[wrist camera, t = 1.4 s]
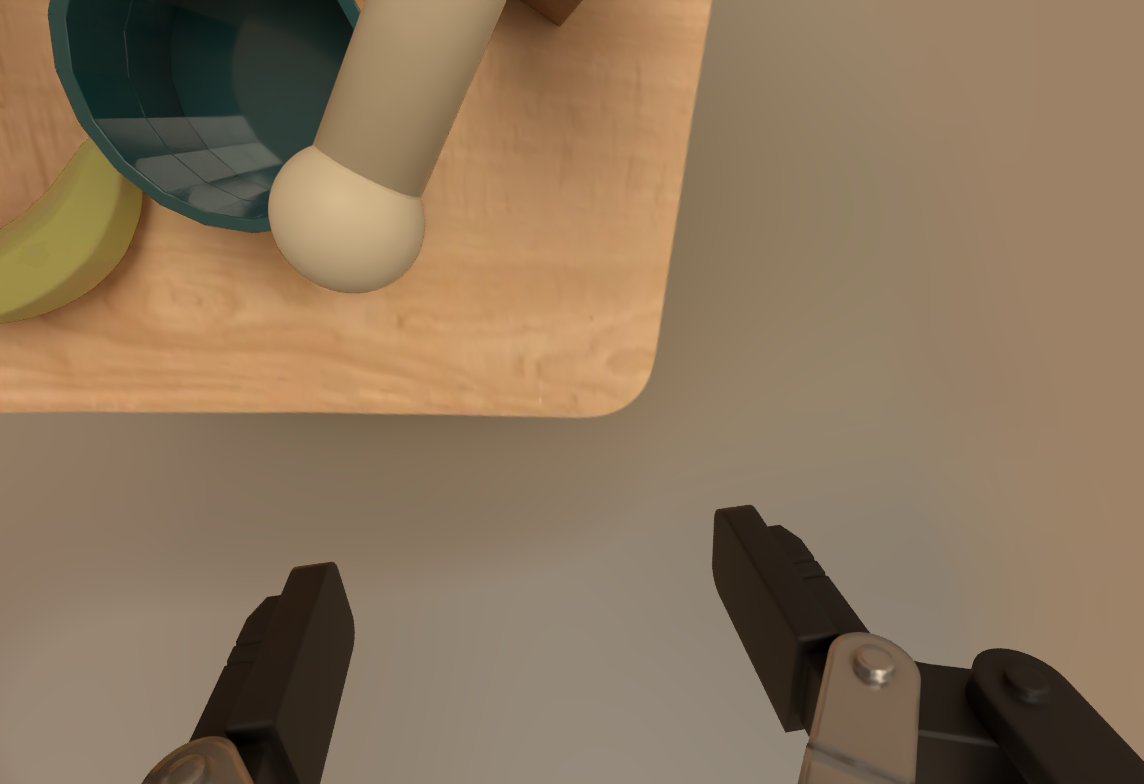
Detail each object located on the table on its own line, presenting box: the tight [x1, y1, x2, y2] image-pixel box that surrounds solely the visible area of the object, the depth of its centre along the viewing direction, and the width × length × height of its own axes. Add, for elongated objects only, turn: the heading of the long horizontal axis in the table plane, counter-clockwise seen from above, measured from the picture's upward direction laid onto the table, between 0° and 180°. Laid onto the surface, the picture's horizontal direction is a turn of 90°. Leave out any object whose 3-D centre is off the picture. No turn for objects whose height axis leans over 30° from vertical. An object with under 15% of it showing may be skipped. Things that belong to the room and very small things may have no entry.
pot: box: [48, 0, 365, 233], centre depth 32 cm, size 14×14×10 cm
